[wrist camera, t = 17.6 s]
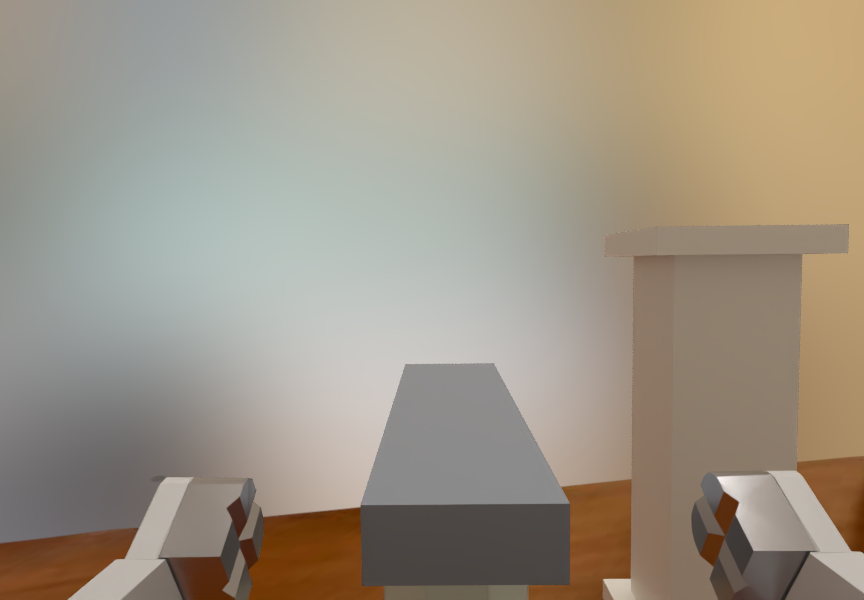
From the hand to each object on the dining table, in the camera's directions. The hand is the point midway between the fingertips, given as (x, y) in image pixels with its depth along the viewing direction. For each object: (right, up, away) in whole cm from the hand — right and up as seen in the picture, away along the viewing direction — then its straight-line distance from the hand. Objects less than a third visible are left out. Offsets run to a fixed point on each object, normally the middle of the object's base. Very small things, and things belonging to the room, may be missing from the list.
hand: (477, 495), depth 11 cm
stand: (+16, -18, +27) cm, 37 cm away
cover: (0, -3, +14) cm, 14 cm away
